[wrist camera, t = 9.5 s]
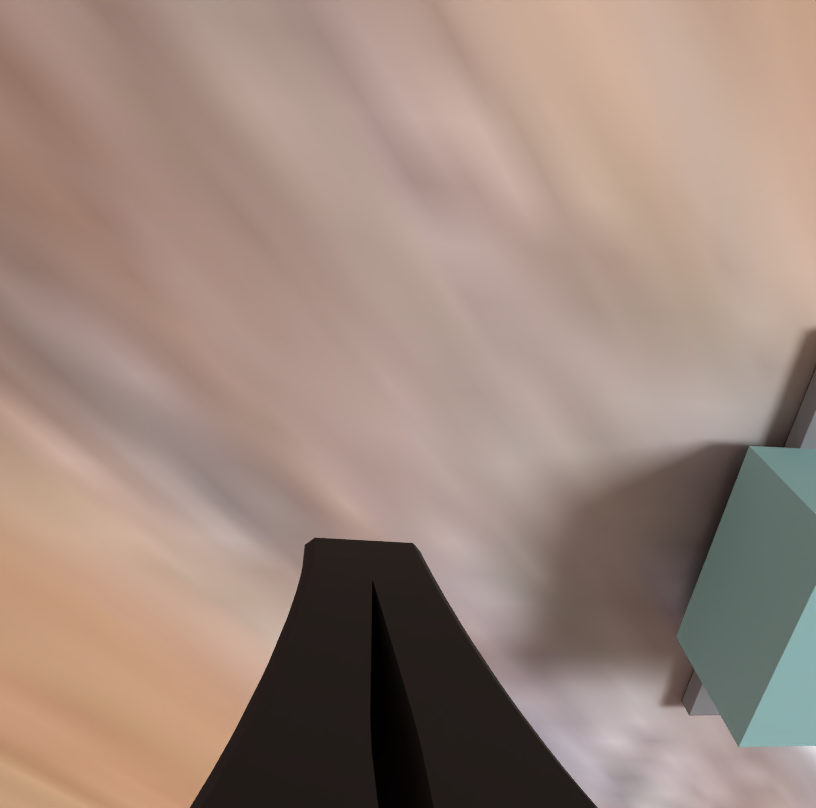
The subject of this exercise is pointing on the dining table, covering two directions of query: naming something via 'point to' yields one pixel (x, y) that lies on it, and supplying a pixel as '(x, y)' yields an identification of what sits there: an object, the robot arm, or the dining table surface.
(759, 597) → the teal block
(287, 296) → the dining table surface
